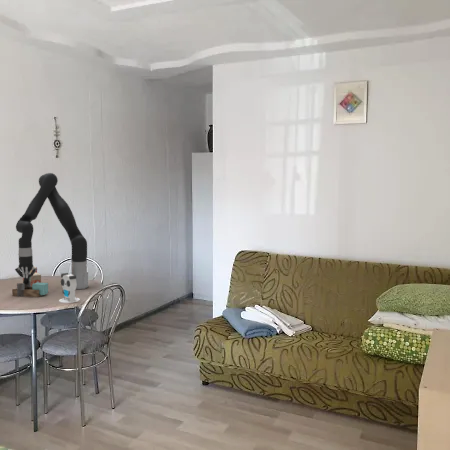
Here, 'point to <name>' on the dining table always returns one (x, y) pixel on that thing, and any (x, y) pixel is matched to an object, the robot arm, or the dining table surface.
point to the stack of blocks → (35, 277)
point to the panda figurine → (68, 288)
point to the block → (40, 288)
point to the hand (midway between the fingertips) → (26, 283)
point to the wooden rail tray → (25, 290)
